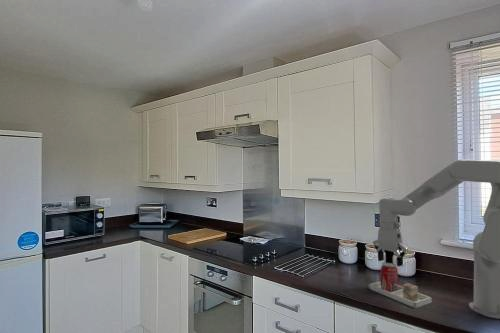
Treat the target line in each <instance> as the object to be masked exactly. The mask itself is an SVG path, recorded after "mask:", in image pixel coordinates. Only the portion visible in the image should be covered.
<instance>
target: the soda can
mask: <svg viewBox="0 0 500 333" xmlns="http://www.w3.org/2000/svg"><path fill="white" fill-rule="evenodd" d="M398 276H399V273H398V268H397V264H395V263H393V262H383V263H382V265H381V267H380V281H381V289H383V290H386V291H388V292H394V291H397V288H398V285H399V284H398V283H399V282H398V280H399V278H398Z"/></svg>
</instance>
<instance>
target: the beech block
mask: <svg viewBox="0 0 500 333" xmlns="http://www.w3.org/2000/svg"><path fill="white" fill-rule="evenodd" d="M402 287H403V298H406V299H408V300H410V301H413V302H415V301H418V293H419V287H418V285H415V284H412V283H404V284H402Z"/></svg>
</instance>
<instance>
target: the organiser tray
mask: <svg viewBox="0 0 500 333" xmlns="http://www.w3.org/2000/svg"><path fill="white" fill-rule="evenodd" d="M368 289H369V290H372V291H373V292H376V293H379V294H381V295H383V296H386V297H388V298H391V299H393V300H395V301H397V302H399V303H402V304H404V305H407V306H410V307H411V308H414V309H416V308H420V307H423V306H425V305H428V304H431V303H433V302H432V301H433V298H432V297H431V296H429V295H425V294H422V293H420V292H418V301H415V302H413V301H410V300H408V299H406V298H403V285H402V286H401V285H399V284H398V288H397V291H394V292H388V291H386V290H383V289H381V280H380V281H376V282H372V283H369V284H368Z"/></svg>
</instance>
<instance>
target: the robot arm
mask: <svg viewBox="0 0 500 333" xmlns="http://www.w3.org/2000/svg"><path fill="white" fill-rule="evenodd" d="M464 182H473V183H487V184H488V183H490V185H491V193H490V197H489V200H488V203H487V204H486V205H487V206H486V207H485V208H486V209H485V211H484V213H483V216H482V217H483V218H482V220H483V222H484V227H483V231H481V232H479V233H477V234H476V235H475V236H474V238H473V240H472V241H473V243H472V247H473V249H472V250H473V301H472V302H469V303H468V306H469V308H470V309H471V310H472V311H473V312H476V313H477V314H478V315H481V316H484V317H486V318H492V319H500V160H483V159H482V160H481V159H480V160H477V159H458V160H455V161H453V162H452V163H450V164H449V165H447V166H446V167H444V168H443V169H442V170H440V171H438V172H437V173H436V174H435V175H433V176H431V177H430V178H428V179H427V180H425V181H424V183H422V184H421V185H419V187H417V188H416V189H414V190H413V191H411V192H410V193H408V194H407V195H405V196H404V197H403V198H401V199H396V198H395V199H394V198H381V199H379V202H378V203H379V204H378V206H379V228H378V233H377V239H376V240H373V241H372V244H373V246H374V248H375V250H376V252H377V261H379V262H382V261H385V259H384V258H385V254H384V251H387V252H388V251H389V252H393V253H395V255H396V267H402V266H403V264H404V257H405V256H406V255H407V252H408V250H409V248H408V247H407V246H406V245H404V243H403V238H402V233H401V229H399V228H400V227H401V225H400V224H399V220H398V219H399V216H403V217H411V216H413V215H414V214H416V211H417V210H418V209H420V208H421V207H423V206H424V205H425V204H428V203H429V202H431V201H433V200H435V199H439V198H440V197H442V196H444V195H446V194H447V193H448V192H450V191H452V190H454V189H455V188H456V187H458V186H459V185H460V184H462V183H464Z"/></svg>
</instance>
